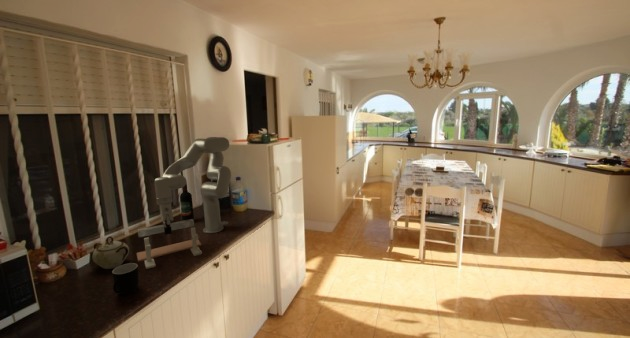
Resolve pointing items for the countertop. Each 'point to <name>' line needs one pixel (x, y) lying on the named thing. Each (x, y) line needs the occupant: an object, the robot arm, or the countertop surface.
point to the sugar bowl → (110, 253)
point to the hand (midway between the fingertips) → (167, 232)
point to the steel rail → (161, 229)
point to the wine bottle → (186, 204)
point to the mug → (125, 278)
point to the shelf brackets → (150, 262)
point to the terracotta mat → (167, 249)
